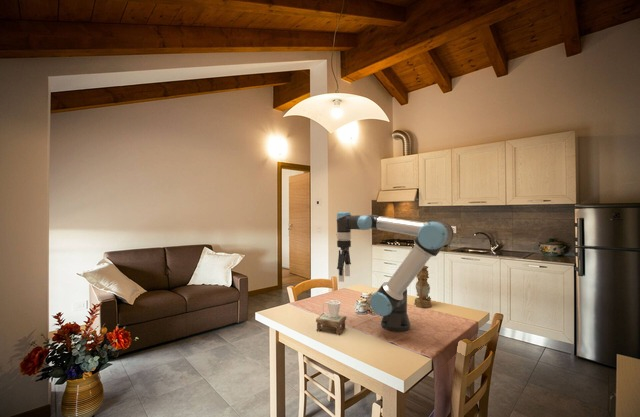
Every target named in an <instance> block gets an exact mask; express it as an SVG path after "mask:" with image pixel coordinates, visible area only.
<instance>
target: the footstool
mask: <svg viewBox="0 0 640 417" xmlns="http://www.w3.org/2000/svg"><path fill="white" fill-rule="evenodd" d="M325 313H326V312H325ZM323 314H324V312H322V314H320V315H319V316H318V317H317V318H316V319H315V323H316V331H317V332H321V331H322V326H325V327H327V326H328V327H333V328H336V335H341V330H345V329H346V320H347V316H345V315H343V316H344V317H343V318H342V319H341V320H340V322H335V321H329V320H322V319H319V318H320V317H321V316H322V315H323ZM326 314H328V313H326ZM338 315H339V316H341V315H340V314H338Z"/></svg>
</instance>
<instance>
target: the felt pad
mask: <svg viewBox="0 0 640 417" xmlns="http://www.w3.org/2000/svg"><path fill="white" fill-rule="evenodd" d="M322 314H323V313H322ZM322 314H321V315H322ZM327 315H329V313H327ZM327 315H325V314H323V315H322V316H321V317H320V318H319V319H322V320H329V321H335V322H340V320H341V319H342V318H343V317H344V316H345V315H340V314H338V318H337V319H331V318H330V317H328V316H327ZM339 315H340V316H339ZM329 316H330V315H329Z"/></svg>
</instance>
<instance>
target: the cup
mask: <svg viewBox="0 0 640 417" xmlns="http://www.w3.org/2000/svg"><path fill="white" fill-rule="evenodd" d="M325 305H327V311H328V313H327V314H329V315H330V316H329V315H327V314H326V311H324V306H325ZM340 307H341V301H339V300H337V299H335V300H332V299H331V300H328V301H327V302H324V303H323V304H322V307H321V310H322V313H324V314H325V315H327V316H328V317H330V318H331V319H337V318H338V315H340V314H339V312H340Z"/></svg>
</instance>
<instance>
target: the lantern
mask: <svg viewBox="0 0 640 417" xmlns="http://www.w3.org/2000/svg"><path fill="white" fill-rule="evenodd" d="M428 269H429V266H427V265H424V266H423V268H422V269H421V270H420V272H419V273H418V274H417V276H416V277H415V278H417V282H416V283H415V290H416V296H417V297H416V298H415V299H414V306H415V305H416V306H415V307H417V306H418V307H417V308H421V307H429V308H431V307H432V303H431V301H432V298H431V297H430V296H429V294H430V291H431V285H430V284H429V281H428V279H429V278H430V276H429V270H428Z"/></svg>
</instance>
